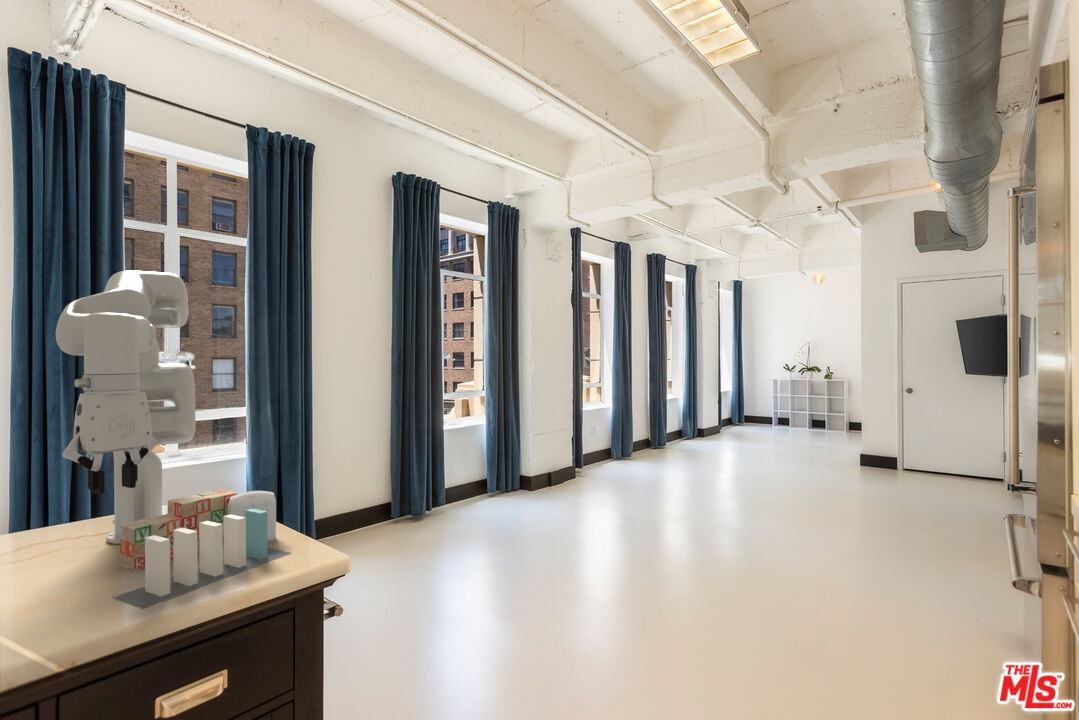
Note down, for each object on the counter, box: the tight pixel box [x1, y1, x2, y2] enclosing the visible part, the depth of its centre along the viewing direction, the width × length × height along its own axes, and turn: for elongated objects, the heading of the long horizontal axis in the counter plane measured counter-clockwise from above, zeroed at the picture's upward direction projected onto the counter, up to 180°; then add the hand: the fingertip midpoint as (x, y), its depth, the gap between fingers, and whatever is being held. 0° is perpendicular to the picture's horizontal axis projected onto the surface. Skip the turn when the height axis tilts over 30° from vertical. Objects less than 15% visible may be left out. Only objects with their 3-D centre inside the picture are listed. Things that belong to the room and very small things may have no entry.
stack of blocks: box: [119, 489, 238, 571], centre depth 122 cm, size 21×6×12 cm, turn 148°
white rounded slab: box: [227, 490, 277, 542], centre depth 129 cm, size 10×4×12 cm, turn 123°
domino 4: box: [223, 514, 246, 568], centre depth 114 cm, size 5×2×10 cm, turn 63°
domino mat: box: [112, 546, 292, 610], centre depth 110 cm, size 10×30×1 cm, turn 153°
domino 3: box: [199, 521, 224, 577], centre depth 110 cm, size 5×2×10 cm, turn 63°
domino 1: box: [144, 535, 171, 596], centre depth 101 cm, size 5×2×10 cm, turn 63°
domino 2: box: [173, 528, 199, 586], centre depth 105 cm, size 5×2×10 cm, turn 63°
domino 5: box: [245, 509, 268, 560], centre depth 119 cm, size 5×2×10 cm, turn 63°
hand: (113, 488), depth 95 cm, fingers open, 4 cm apart
